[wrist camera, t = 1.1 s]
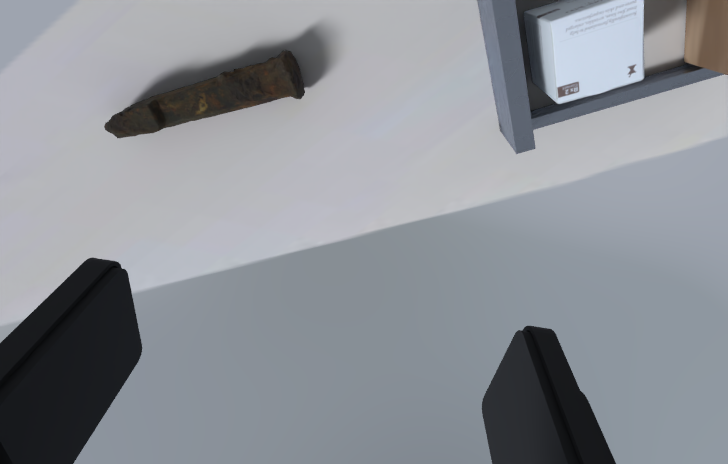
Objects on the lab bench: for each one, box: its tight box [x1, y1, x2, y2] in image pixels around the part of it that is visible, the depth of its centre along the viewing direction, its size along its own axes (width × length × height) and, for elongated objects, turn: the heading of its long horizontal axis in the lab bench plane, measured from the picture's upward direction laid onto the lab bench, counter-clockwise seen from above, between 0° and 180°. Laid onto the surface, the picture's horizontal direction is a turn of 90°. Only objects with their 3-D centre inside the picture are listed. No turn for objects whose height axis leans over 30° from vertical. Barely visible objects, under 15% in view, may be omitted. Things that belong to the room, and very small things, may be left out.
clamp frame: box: [477, 0, 724, 154], centre depth 32 cm, size 18×13×6 cm
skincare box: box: [524, 0, 644, 104], centre depth 32 cm, size 6×6×7 cm
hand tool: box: [105, 51, 305, 138], centre depth 38 cm, size 19×4×5 cm, turn 103°
